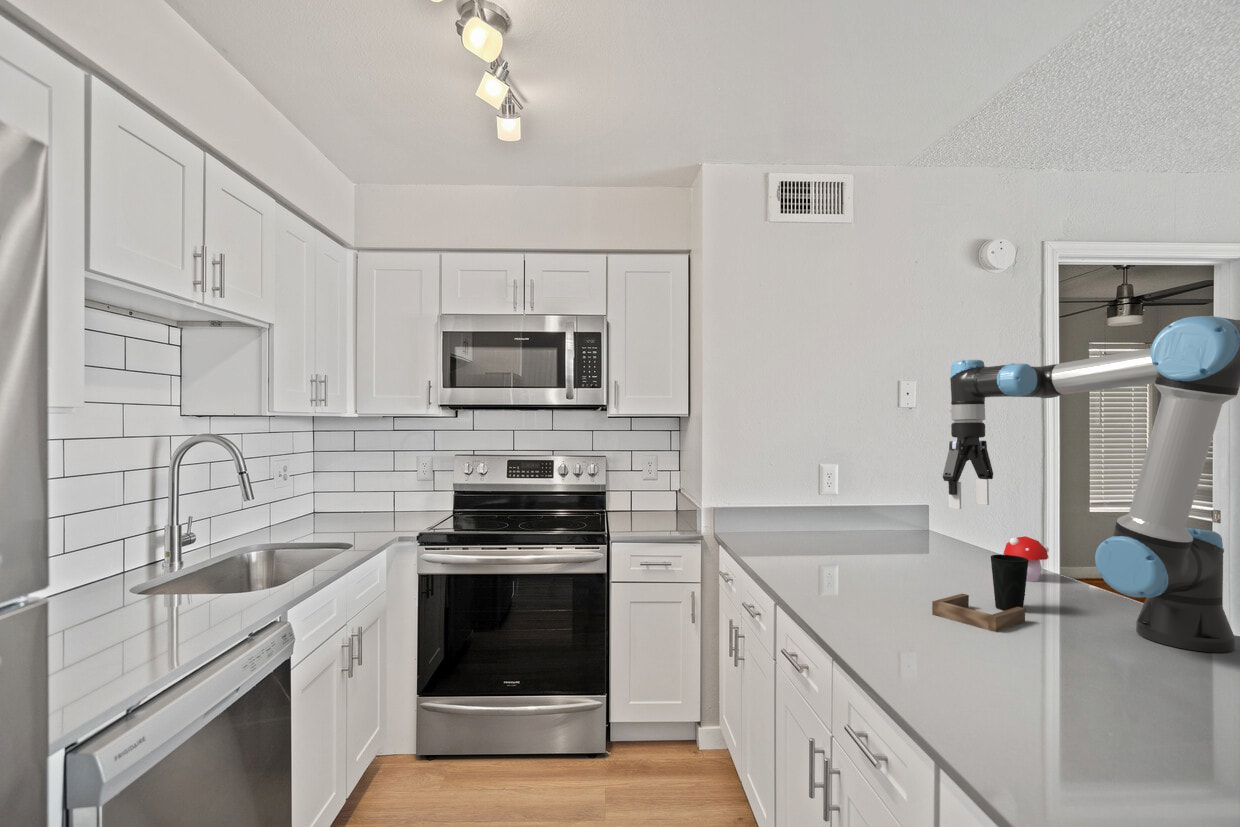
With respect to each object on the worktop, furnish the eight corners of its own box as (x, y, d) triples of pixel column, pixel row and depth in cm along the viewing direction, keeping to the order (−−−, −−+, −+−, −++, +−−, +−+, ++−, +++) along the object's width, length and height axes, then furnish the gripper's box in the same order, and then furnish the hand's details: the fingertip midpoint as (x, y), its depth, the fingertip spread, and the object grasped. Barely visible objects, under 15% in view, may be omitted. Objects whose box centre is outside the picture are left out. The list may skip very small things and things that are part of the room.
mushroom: (1035, 574, 186) (1035, 533, 186) (1057, 584, 175) (1057, 540, 175) (996, 573, 187) (996, 532, 187) (1015, 583, 176) (1016, 539, 176)
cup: (1034, 614, 148) (1034, 562, 148) (997, 612, 149) (997, 560, 149) (1020, 605, 155) (1020, 555, 155) (985, 603, 157) (985, 553, 157)
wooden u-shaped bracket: (1025, 621, 142) (1025, 608, 142) (995, 631, 135) (995, 617, 135) (962, 606, 154) (962, 593, 154) (932, 614, 147) (932, 601, 147)
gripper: (977, 422, 172) (978, 501, 172) (926, 421, 158) (927, 508, 157) (1007, 421, 166) (1008, 504, 166) (957, 421, 152) (958, 511, 151)
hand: (969, 506), depth 161 cm, fingers open, 13 cm apart
